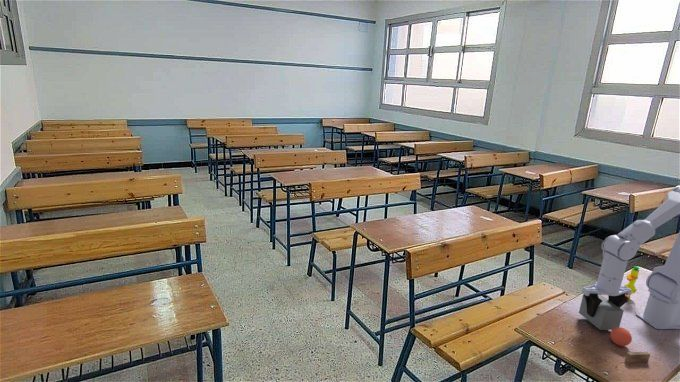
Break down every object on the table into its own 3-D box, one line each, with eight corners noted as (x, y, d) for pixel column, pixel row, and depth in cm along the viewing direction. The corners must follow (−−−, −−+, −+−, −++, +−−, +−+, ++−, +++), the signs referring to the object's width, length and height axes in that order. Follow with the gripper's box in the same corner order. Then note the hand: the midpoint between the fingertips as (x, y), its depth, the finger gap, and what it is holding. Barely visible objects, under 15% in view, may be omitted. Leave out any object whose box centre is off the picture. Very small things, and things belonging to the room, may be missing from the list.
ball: (636, 330, 107) (636, 348, 107) (621, 325, 112) (622, 342, 112) (619, 330, 107) (619, 348, 106) (605, 325, 112) (606, 342, 111)
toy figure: (627, 302, 132) (636, 271, 129) (616, 297, 135) (624, 266, 132) (636, 297, 136) (645, 267, 132) (625, 293, 139) (634, 263, 135)
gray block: (595, 312, 122) (600, 294, 121) (618, 329, 114) (623, 310, 112) (578, 312, 122) (583, 294, 120) (600, 329, 113) (605, 310, 111)
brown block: (644, 359, 104) (647, 351, 103) (647, 362, 103) (650, 354, 102) (624, 360, 103) (627, 352, 103) (627, 362, 102) (630, 354, 102)
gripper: (622, 268, 118) (611, 307, 122) (579, 268, 116) (569, 307, 120) (642, 280, 111) (629, 320, 115) (596, 280, 110) (585, 321, 113)
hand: (600, 314), depth 117 cm, fingers closed on gray block, 6 cm apart
